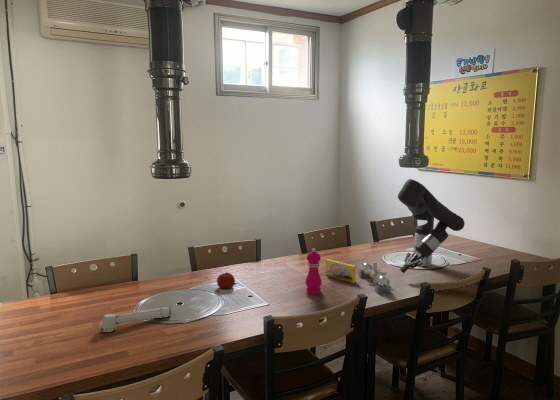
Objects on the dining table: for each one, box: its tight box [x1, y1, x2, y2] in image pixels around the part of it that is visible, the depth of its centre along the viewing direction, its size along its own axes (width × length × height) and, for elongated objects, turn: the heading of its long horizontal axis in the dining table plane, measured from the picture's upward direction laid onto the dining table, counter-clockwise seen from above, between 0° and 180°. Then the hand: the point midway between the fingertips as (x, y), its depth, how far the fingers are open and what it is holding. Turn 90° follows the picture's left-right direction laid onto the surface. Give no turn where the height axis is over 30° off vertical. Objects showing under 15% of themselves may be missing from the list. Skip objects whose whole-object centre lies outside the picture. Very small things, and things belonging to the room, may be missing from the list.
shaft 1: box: [357, 260, 373, 279], centre depth 198 cm, size 6×6×7 cm
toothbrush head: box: [99, 306, 172, 333], centre depth 151 cm, size 5×7×25 cm
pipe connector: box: [364, 261, 387, 285], centre depth 190 cm, size 10×10×10 cm
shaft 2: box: [374, 274, 392, 295], centre depth 180 cm, size 6×6×7 cm
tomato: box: [216, 271, 236, 289], centre depth 186 cm, size 8×8×7 cm
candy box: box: [325, 258, 356, 284], centre depth 196 cm, size 16×2×8 cm, turn 47°
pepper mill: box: [304, 248, 323, 295], centre depth 179 cm, size 7×7×20 cm
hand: (401, 271), depth 192 cm, fingers closed
